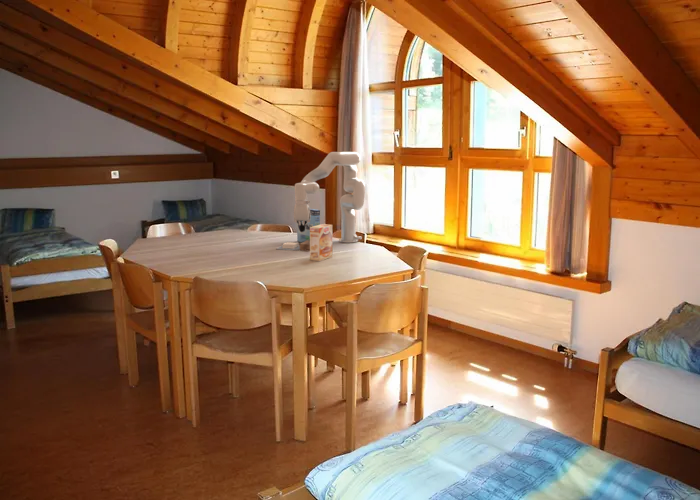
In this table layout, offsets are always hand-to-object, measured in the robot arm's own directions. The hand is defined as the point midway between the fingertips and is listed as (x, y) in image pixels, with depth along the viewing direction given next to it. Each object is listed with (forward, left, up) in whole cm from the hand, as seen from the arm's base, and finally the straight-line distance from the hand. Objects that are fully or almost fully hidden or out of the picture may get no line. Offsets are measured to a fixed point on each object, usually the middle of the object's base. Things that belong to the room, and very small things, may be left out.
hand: (302, 231), depth 430 cm
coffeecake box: (-22, +30, -11) cm, 38 cm away
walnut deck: (-5, +1, -11) cm, 12 cm away
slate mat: (+7, +1, -11) cm, 13 cm away
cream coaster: (+8, +1, -9) cm, 12 cm away
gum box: (+2, -19, -11) cm, 22 cm away
